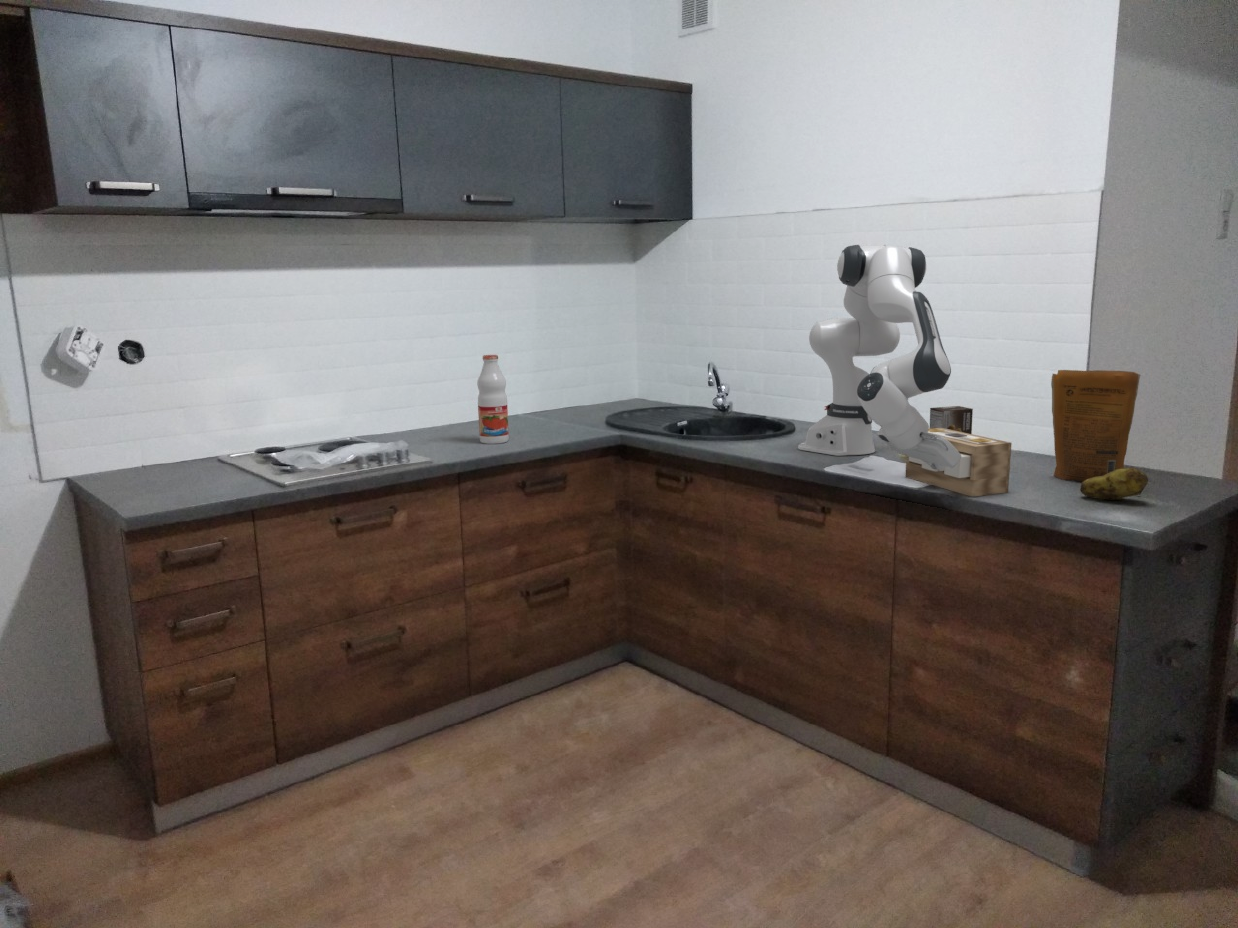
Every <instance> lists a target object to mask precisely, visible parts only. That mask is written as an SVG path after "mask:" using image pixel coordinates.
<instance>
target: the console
mask: <svg viewBox="0 0 1238 928" xmlns="http://www.w3.org/2000/svg"><path fill="white" fill-rule="evenodd" d="M928 433H930V434H935V435H939V436H942V437H944V438H945V439H947V440H948V441H949V442H950V443H951V444H952V445H953V446H954V447H955V448H956V449H957V450H958V451H959V452H964V453H968V454H972V458H971V474H970V477H964V478H957V477H953V476H950V475H946V474H944V471H936V472H935V471H932V470H928V469H924V468H922V464H918V463H915V462H911V461H909V456H905V457H906V458H905V474H904V475H905V478H909V479H912V480H915V481H919V482H922V483H925V484H929V485H932V486H935V487H939V488H942V489H944V490H949V491H952V492H954V493H959V494H962V495H965V496H969V497H972V498H975V497H981V496H988V495H995V494H996V495H997V494H1002V493H1003V494H1004V493H1009V486H1010V472H1011V471H1010V469H1011V456H1012V445H1013V444H1012V442H1010V441H1004V440H1000V439H996V438H991V437H987V436H981V435H977V434H973V433H972V434H968V433H964V432H959V431H954V430H950V429H945V428H933V429H929V430H928Z"/></svg>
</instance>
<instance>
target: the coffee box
mask: <svg viewBox="0 0 1238 928" xmlns="http://www.w3.org/2000/svg"><path fill="white" fill-rule="evenodd" d="M973 410H974V408H971V407H965V406H961V405H956V406H955V405H953V406H941V407H940V406H939V407H930V409H929V429H933V428H945V429H950V430H954V431H959V432H964V433H968V434H973V432H972V431H973V412H974V411H973Z"/></svg>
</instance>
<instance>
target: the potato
mask: <svg viewBox="0 0 1238 928" xmlns="http://www.w3.org/2000/svg"><path fill="white" fill-rule="evenodd" d="M1148 482H1149V477H1148V476H1147V474H1146V473H1145V472H1143V471H1142V470H1141V469H1138V468H1135V467H1124V468H1121V469H1117V470H1114V471H1112V472H1110V473H1108V474H1106V475H1103V476H1097V477H1093V478H1090V479H1087V480H1085V481H1083V482H1081V484H1080V492H1081V494H1082V495H1084V496H1086V497H1087V498H1091V499H1094V498H1095V499H1098V500H1099V499H1101V500H1115V501H1116V500H1120V499H1125V498H1127V497H1133V496H1138V495H1141V494H1142V492H1143V491H1144V489H1145V488H1146V486H1147V485H1148Z"/></svg>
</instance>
